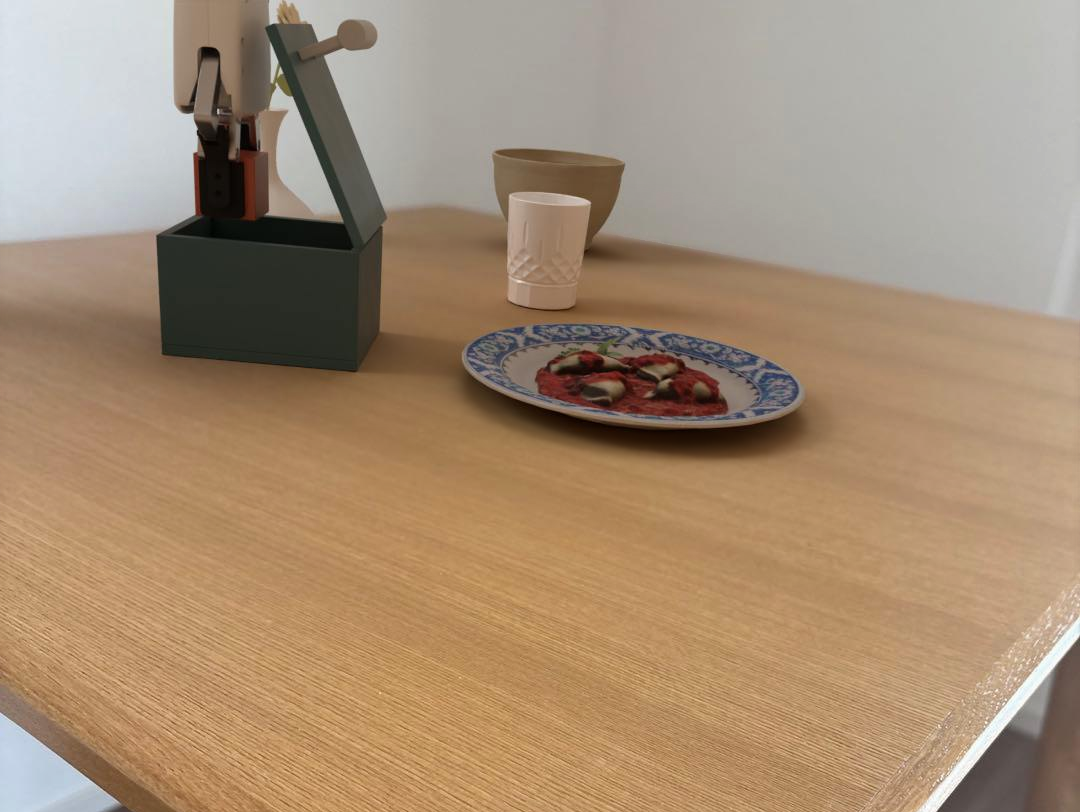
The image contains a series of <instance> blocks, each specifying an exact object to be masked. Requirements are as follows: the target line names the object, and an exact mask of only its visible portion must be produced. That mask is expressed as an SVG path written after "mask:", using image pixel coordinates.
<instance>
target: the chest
mask: <svg viewBox="0 0 1080 812" xmlns="http://www.w3.org/2000/svg"><path fill="white" fill-rule="evenodd" d="M383 235H384V227H383V225H381V226H380V227H379V228H378V230H377V231H376V232H375V233H374V234H373V235H372V237H371V238H370V239H369V240H368V241H367V242H366V244H365V245H364V246H361V247H358V248H354V246H353V244H352V241H351V239H350V236H349V234H348V231H347V229H346V226H345V224H344V222H343V221H335V220H323V219H316V220H314V219H303V218H293V217H282V216H271V215H263V216H262V217H260V218H259V219H257V220H256V221H250V220H239V219H228V218H217V217H206V216H196V214H194V215H192V216H190V217H187V218H186V219H184V220H182V221H181V222H180V221H179V223H177V224H174V225H173V226H171V227H169V228H167V229H165V230H163V231H161V232H159V233H157V234H156V236H155V243H156V260H157V261H156V263H157V281H158V283H157V284H158V303H159V321H160V341H161V344H160V345H161V354H162V355H166V356H167V355H168V356H178V357H190V358H201V359H211V360H223V361H232V362H233V361H234V362H243V363H257V364H269V365H279V366H291V367H300V368H301V367H302V368H311V369H312V368H313V369H325V370H336V371H344V372H345V371H347V372H358V369H359V368H360V367H361V364H362V363H363V361H364V359H365V357H366V356H367V354H368V352H369V350H370V348H371V346H372V345H373V343H374V341H375V339H377V337H378V334H379V333H380V330H381V327H380V326H381V301H382V300H381V299H382V272H383V271H382V269H383V268H382V267H383V237H384V236H383Z"/></svg>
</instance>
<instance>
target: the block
mask: <svg viewBox="0 0 1080 812" xmlns="http://www.w3.org/2000/svg"><path fill="white" fill-rule="evenodd" d="M192 158H193V159H192V160H193V187H194V211H195V212H194V213H195V214H196V216H204V215H202V214H201V212H200V194H199V167H198V159H199V158H198V153H197V151H194V152H193V153H192ZM239 162H244V182H245V216H244V217H243V218H241V219H239V220H250V221H256V220H257V219H259V218H260V217H262V216H263V215H265V214H266V213H268V212H269V174H268V152H260V151H249V150H240V154H239ZM195 214H194V215H195ZM206 217H210V216H206ZM217 218H221V217H217ZM228 219H232V218H228Z"/></svg>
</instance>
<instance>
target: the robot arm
mask: <svg viewBox="0 0 1080 812" xmlns="http://www.w3.org/2000/svg"><path fill="white" fill-rule="evenodd" d="M172 20H173V24H172V25H173V31H172V32H173V33H172V34H173V35H172V38H173V39H172V41H173V42H172V44H173V45H172V47H173V48H172V49H173V50H172V51H173V52H172V53H173V55H172V56H173V57H172V58H173V59H172V60H173V65H172V66H173V67H172V68H173V69H172V71H173V73H172V74H173V103H174V106H175V107H176V109H177V110H178V111H179V112H180V113H181V114H184V115H190V114H193V122H194V123H195V127H196V136H197V149H196V152H197V153H198V158H199V159H198V167H199V194H200V212H201V214H202V215H204V216H210V217H221V218H232V219H241V218H243V217H244V216H245V182H244V162H239V154H240V150H249V151H260V150H261V141H260V127H259V123H260V121H259V113H260V112H262V111H264V110H265V109H266V108H267V107H268V105H269V102H270V90H271V83H272V61H271V60H272V56H271V54H272V53H271V51H272V50H271V42H270V40H269V37H268V35H267V32H266V30H265V27H266V26H268V25H271V24H270V0H173V19H172ZM270 103H271V102H270Z"/></svg>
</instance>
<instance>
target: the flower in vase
mask: <svg viewBox="0 0 1080 812" xmlns="http://www.w3.org/2000/svg"><path fill="white" fill-rule="evenodd" d="M276 13H277V14H276V20H277V22H278V23H284V24H309V22H308V21H307V20H303V21H301V17H300V14H299V11H298V9H297V8H296V6H295V4H294V2H290V3H289V6H288V4H287V2H286V0H281V2H279V3H278V7H276ZM280 70H281V67H280V64H279V62H278V61H277V65H276V68H275V72H274V76H273V79H272V82H271V90H270V102H269V105H268V107H267V108H266V109H265V110H264V111H262V112H260V113H259V121H260V123H259V127H260V141H261V150H260V152H268V174H269V212H268V213H266V214H265V215H271V216H282V217H293V218H303V219H314V220H317V219H316V216H315V214H314V212H313V211H312V210H311V209H310V207H309V206H308V205H307V204H306V203H305V202H304V201H303V200H301V198H299V197H298V196H297V195H296V194H295V193H294V192H293V190H291V189H289V188H288V186H287V185H286V184H285V183H284V182H283V180H281V178H280V175H279V172H278V167H277V147H278V138H279V133H280V128H281V125H282V122H283V121H284V118H285V117H286V116H287V114H288V113H289V109H287V108H283V107H277V106H271V101H272V98H273V94H274V92H276V90H277V86H278V87H279V89H280V90H281V91H282V93H283V94H284V95H286V96H287V97H290V98H291V97H292V98H293V96H292V94H291V91H290V89H289V86H288V84H287V81H286V79H285V77H284V74H283V73H280ZM279 73H280V74H279Z"/></svg>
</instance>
